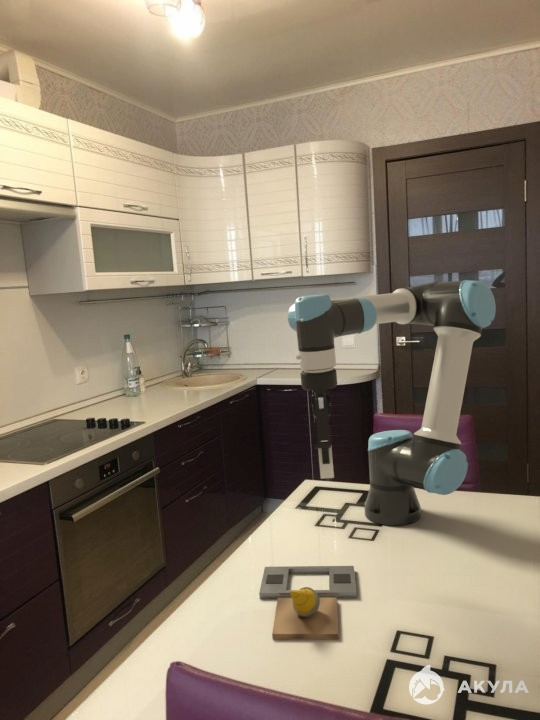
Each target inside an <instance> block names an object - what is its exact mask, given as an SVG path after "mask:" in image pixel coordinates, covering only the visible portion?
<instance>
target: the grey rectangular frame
mask: <svg viewBox="0 0 540 720" xmlns="http://www.w3.org/2000/svg"><path fill="white" fill-rule="evenodd" d="M291 574H293V575H297V574H298V575H299V574H304V575H305V574H308V575H309V574H328V580H329V581H328V583H329V584H328V585H329V587H328V589H314V590H315V591H316V592H317V594H318V595H319V598H337V599H349V598H350V599H357V586H356V575H355V574H356V573H355V565H313V566H312V565H311V566H310V565H309V566H308V565H307V566H306V565H305V566H303V565H301V566H290V565H289V566H264V569H263V575H262V578H261V584H260V587H259V593H258V596H259V599H278V598H292V597H291V594H290V592H291V591H295V590H296V589H292V590H291V589H288V586H289V585H288V584H289V579H290V575H291Z"/></svg>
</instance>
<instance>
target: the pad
mask: <svg viewBox="0 0 540 720" xmlns="http://www.w3.org/2000/svg"><path fill="white" fill-rule="evenodd" d="M319 599H320V604H319V608H318V610H317V612H316V613H315V614H314V615H313V616H311V617H302V616H300V615H298V614H297V613H296V612H295V610H294V608H293V600H292V598H277V601H276V608H275V612H274V620H273V627H272V633H271V637H272V640H273V639H274V640H339V622H338V620H339V616H338V598H319Z"/></svg>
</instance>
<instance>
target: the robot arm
mask: <svg viewBox="0 0 540 720" xmlns="http://www.w3.org/2000/svg"><path fill="white" fill-rule="evenodd" d="M496 308H497V307H496V300H495V297H494V293H493V292H492V290H491V288H490V287H489V286H488V284H486V283H485V282H484V281H482V280H470V279H464V280H455V281H454V280H453V281H437V282H435V281H434V282H428V283H423V284H417V285H415V286H410V287H405V288H404V287H402V288H397V289H395V290H394V291H393V292H389V293H381V294H368V295H359V296H347V297H339V298H338V297H337V298H331V296H330V295H329V294H322V293H321V294H313V295H303V296H299V297H297V298H296V299H295V301H294V303H292V305H291V306H290V307H289V308H288V312H287V322H288V326H289V327H290V328H291V329H292V330H294V331H295V332H296V336H297V337H296V339H297V348H298V354H297V355H296V356H295V359H296V360H299V368H300V369H301V370H302V371H301V372H300V383H301V388H302V389H303V390H305V391H313V393H314V394H313V395H311V396H310V398H311V400H310V401H311V407H312V408H313V410H312V412H313V418H314V419H315V420H316V421H315V422H316V430H317V432H316V433H317V444H314V450H315V449H317V451H318V463H319V474H320V476H319V477H320V479H321V480H322V479H323V480H324V479H334V478H335V472H334V464H333V449H332V448H333V447H332V444H333V443H332V442H331V431H330V427H332V425H333V424H332V421H330V419H329V418H330V417H331V408H330V407H331V397H330V394H329V393H328V394H327V393H326V391H327V390H332V389H335V388H336V387H337V386H338V376H337V370H336V368H335V367H336V366H337V361H336V358H337V357H336V349H335V348H336V346H335V338H338V337H344V336H349V335H350V336H351V335H356V334H357V335H359V334H362V333H365V332H368V331H370V330H372V329H373V328H374V326H375V325H379V324H380V325H381V324H388V323H397V324H398V325H407V324H409V325H424V326H425V325H426V326H431V327H432V326H433V331H434V332H435V334H436V335H437V341H436V347H435V353H434V358H433V359H434V360H433V364H432V369H431V374H430V380H429V385H428V391H427V396H426V400H425V406H424V412H423V417H422V422H421V427H420V428H419V429H418V430H417V431H415V432H414V433H413V434H412V432H411V431H410V430H407V429H406V430H405V429H393V430H385V431H381V432H376V433H374V434H371V435H370V437H369V438H368V447H367V455H368V470H369V490H368V493H367V496H366V499H365V503H364V516H365V518H366V519H368V520H369V521H371V522H373V523H376V524H378V525H385V526H404V525H409V524H413V523H416V522H418V521H419V520H420V519H421V517H422V508H421V504H420V501H419V499H418V496H417V493H416V491H415V488H416V489H420V490H424V491H426V492H427V493H429V494H435V495H436V494H437V495H441V496H445V495H446V496H447V495H449V494H450V495H451V494H452V493H454V492H456V490H458V488H459V487H460V486H461V485H462V483H463V482H464V480H465V478H466V476H467V472H468V465H469V463H468V460H467V456H466V454H465V453H464V452H463V451H462V450H461V447H462V441H461V440H460V439H459V438H458V436H457V432H458V428H459V427H458V426H459V423H460V421H459V420H460V416H461V409H462V405H463V399H464V395H465V394H464V393H465V389H466V388H465V387H466V385H467V384H466V383H467V377H468V373H469V372H468V371H469V368H470V361H471V356H472V349H473V345H474V342H475V341H476V340H478V339H479V338H481V336H482V331H483V328H487V327H489V326H490V325H492V322H493V321H494V320H495V317H496Z"/></svg>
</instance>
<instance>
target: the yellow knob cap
mask: <svg viewBox="0 0 540 720" xmlns="http://www.w3.org/2000/svg"><path fill="white" fill-rule="evenodd" d="M294 590H295V591H291V592H290V594H291V597H292V600H293V608H294V610H295V612H296V613H297V614H298V615H300V616H302V617H311V616H313V615H314V614H315V613H316V612H317V610H318V608H319V604H320V599H319V595H318V594H317V592H316V591H315V590H316V589H314V588H312V587H308V586H305V587H302V588H300V589H294Z"/></svg>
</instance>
